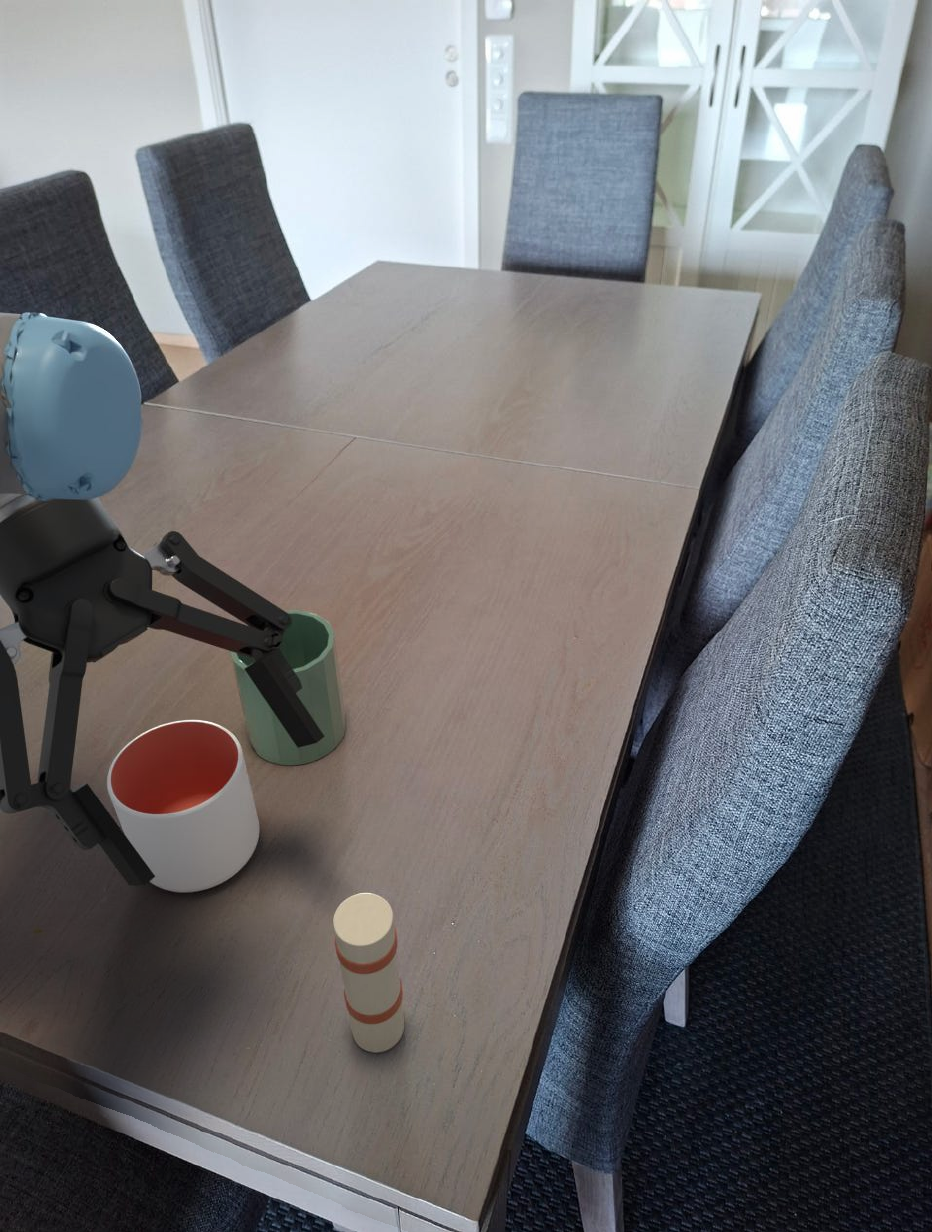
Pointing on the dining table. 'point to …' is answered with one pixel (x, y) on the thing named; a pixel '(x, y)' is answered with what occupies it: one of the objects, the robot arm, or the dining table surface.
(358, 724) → the dining table surface
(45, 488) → the robot arm
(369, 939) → the cream banded cylinder
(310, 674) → the tumbler
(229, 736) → the cup
